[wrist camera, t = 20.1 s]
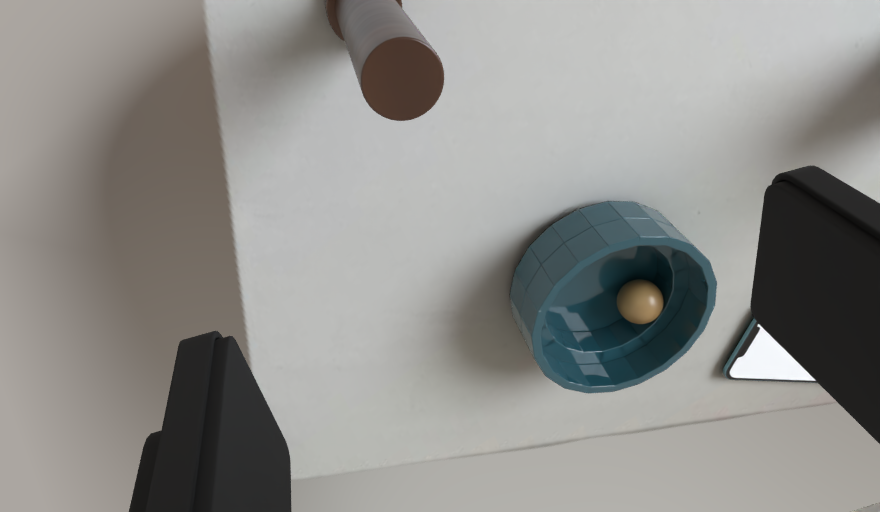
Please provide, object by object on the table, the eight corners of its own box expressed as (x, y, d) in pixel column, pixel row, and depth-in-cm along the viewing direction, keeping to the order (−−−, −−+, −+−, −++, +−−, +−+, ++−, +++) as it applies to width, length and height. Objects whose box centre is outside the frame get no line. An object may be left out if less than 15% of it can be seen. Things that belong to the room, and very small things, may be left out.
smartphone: (915, 310, 52) (763, 296, 47) (920, 314, 52) (768, 300, 47) (862, 381, 56) (716, 375, 51) (866, 385, 56) (720, 380, 51)
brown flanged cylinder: (338, 52, 32) (366, 145, 22) (315, -23, 30) (333, 41, 20) (407, 32, 32) (465, 115, 22) (389, -44, 30) (444, 10, 20)
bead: (600, 301, 43) (623, 331, 41) (623, 267, 42) (649, 297, 40) (631, 305, 45) (655, 335, 43) (655, 272, 43) (681, 302, 41)
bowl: (518, 363, 46) (541, 413, 42) (496, 225, 39) (522, 269, 35) (672, 318, 47) (710, 363, 43) (677, 175, 40) (723, 213, 36)
